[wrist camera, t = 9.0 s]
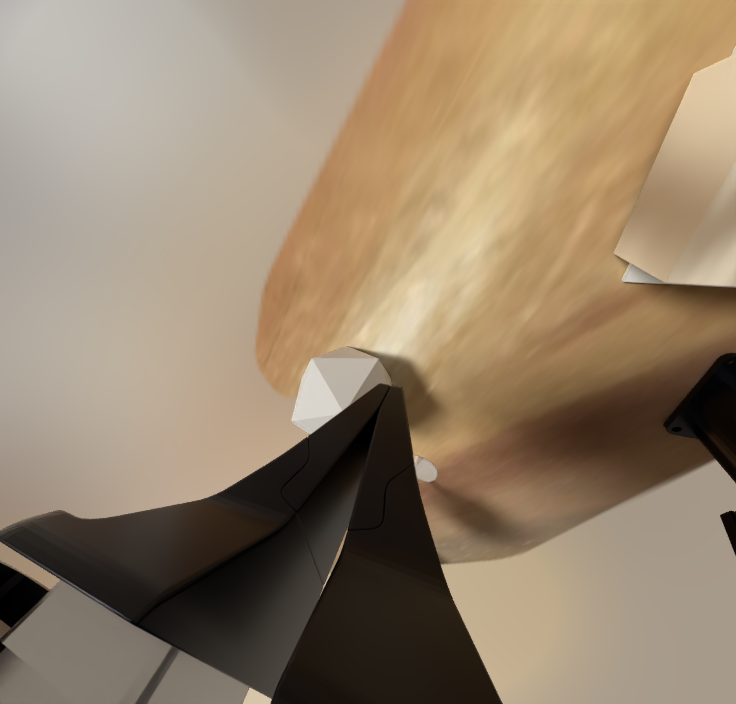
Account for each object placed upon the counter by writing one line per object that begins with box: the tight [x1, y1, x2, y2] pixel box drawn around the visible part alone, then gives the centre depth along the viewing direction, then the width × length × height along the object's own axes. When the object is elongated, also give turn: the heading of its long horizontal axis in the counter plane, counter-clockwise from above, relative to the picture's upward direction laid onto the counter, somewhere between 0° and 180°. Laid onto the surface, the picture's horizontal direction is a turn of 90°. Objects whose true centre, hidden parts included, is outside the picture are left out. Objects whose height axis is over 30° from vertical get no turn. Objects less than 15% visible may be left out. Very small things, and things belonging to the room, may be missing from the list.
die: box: [291, 346, 392, 434], centre depth 22 cm, size 8×9×10 cm
